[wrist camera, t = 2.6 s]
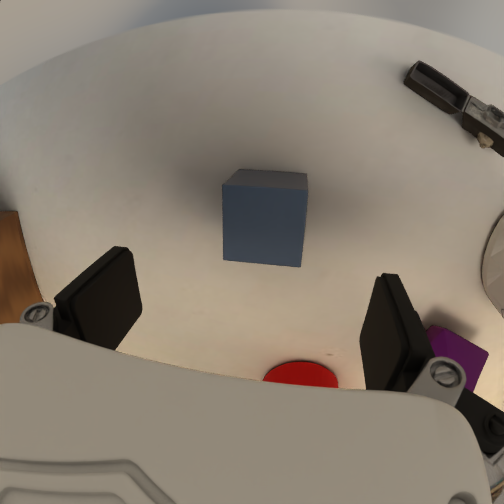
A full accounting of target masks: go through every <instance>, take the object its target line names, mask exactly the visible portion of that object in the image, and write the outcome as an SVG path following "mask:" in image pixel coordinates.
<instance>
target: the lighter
mask: <svg viewBox="0 0 504 504" xmlns="http://www.w3.org/2000/svg"><path fill="white" fill-rule="evenodd" d="M404 84H405V85H406V86H408V87H409V88H410V89H412V90H413V91H415V92H416V93H417V94H419V95H420V96H422V97H423V98H425V99H426V100H428V101H429V102H431V103H432V104H434V105H435V106H437V107H438V108H440V109H442V110H443V111H445V112H446V113H448V114H454V113H458V112H463V118H462V128H463V129H465V130H466V131H468V132H469V133H471V134H472V135H474V136H475V137H476V138H478V141H479V143H480V147H481V148H485V147H486V148H487V147H488V148H489V147H490V148H492V149H493V150H494V151H496V152H497V153H498V154H500V155H501V156H502V157H504V112H502V111H501V110H499V109H498V108H496V107H495V106H494V105H488V106H487V105H486V104H484V103H483V102H481V101H479V100H478V99H476V98H475V97H473V96H470V95H469V93H468V92H466V91H465V90H464V89H462V88H461V87H460V86H458V85H457V84H456V83H454V82H453V81H452V80H450V79H449V78H447V77H446V76H445V75H443V74H442V73H440V72H439V71H437V70H436V69H434V68H433V67H431V66H429V65H427V64H425V63H424V62H422V61H417V62H416V63H415V64H414V65H413V66H412V67H411V68H410V70H409V72H408V74H407V76H406V79H405V81H404Z"/></svg>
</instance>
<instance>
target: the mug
mask: <svg viewBox="0 0 504 504" xmlns="http://www.w3.org/2000/svg"><path fill="white" fill-rule="evenodd" d="M482 280H483V285H484V289H485V292H486V293H487V295H488V297H489V299H490V300H491V302H492V303H493V305H494V306H495V307H496V309H497V310H498V311H499V313H500V314H501V316H502V317H503V318H504V215H503V217H502V218H501V219H500V221H499V222H498V224H497V226H496V227H495V229H494V231H493V233H492V235H491V237H490V240H489V242H488V245H487V248H486V251H485V255H484V260H483V266H482Z"/></svg>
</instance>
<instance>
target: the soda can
mask: <svg viewBox="0 0 504 504" xmlns="http://www.w3.org/2000/svg"><path fill="white" fill-rule="evenodd" d="M263 381H266V382H274V383H283V384H292V385H302V386H314V387H327V388H338V381H337V378H336V377H335V375H334V374H333V373H332V372H331V371H329V370H328V369H326V368H325V367H323V366H321V365H318V364H315V363H310V362H291V363H286V364H283V365H280V366H278V367H276V368H275V369H273V370H271V371H270V372H269V373H268V374H266V376H265V377H264V379H263Z"/></svg>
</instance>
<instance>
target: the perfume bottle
mask: <svg viewBox="0 0 504 504" xmlns="http://www.w3.org/2000/svg"><path fill="white" fill-rule="evenodd" d="M426 334H427V336H428V339H429V341H430V344H431V346H432V349H433V351H434V354H435V356H436V357H447V358H450V359H452V360H454V361H456V362H457V363H459V364H460V366H461V367H462V368H463V369H464V371H465V373H466V384H465V386H464V387H465V388H467V389H468V390H470V391H471V392H473V391H474V389H475V386H476V383H477V381H478V378H479V376H480V374H481V371H482V369H483V367H484V365H485V362H486V360H487V358H488V355H489V354H488V352H487V351H485V350H483V349H482V348H480V347H478V346H476V345H475V344H473V343H471V342H469V341H468V340H466V339H464V338H462V337H461V336H459V335H457V334H455V333H453V332H452V331H450V330H448V329H446V328H443V327H438V326H434V325H432V326H431V327H430V328H429V329H428V330H427V331H426Z"/></svg>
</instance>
